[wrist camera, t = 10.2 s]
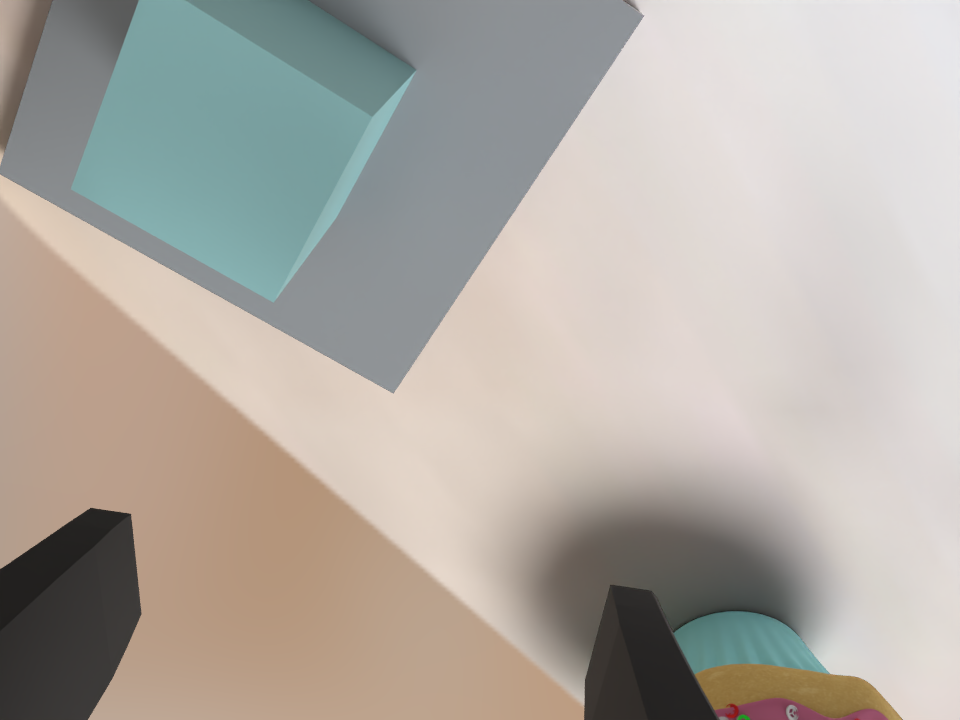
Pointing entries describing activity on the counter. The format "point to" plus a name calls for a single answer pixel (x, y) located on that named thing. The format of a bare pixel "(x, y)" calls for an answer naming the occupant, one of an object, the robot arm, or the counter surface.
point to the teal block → (239, 130)
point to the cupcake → (771, 673)
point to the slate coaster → (387, 173)
